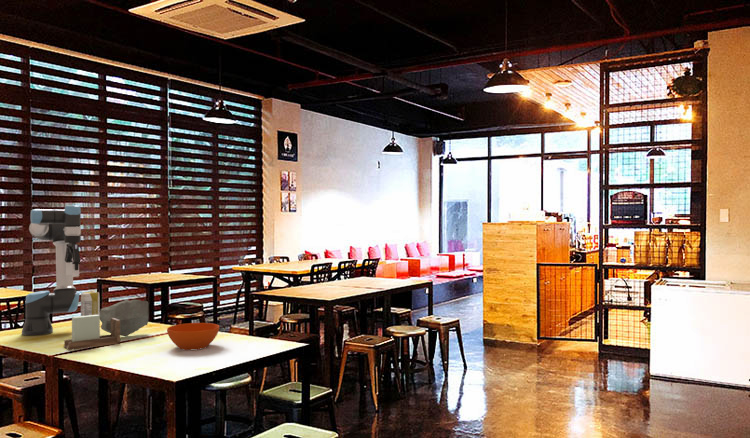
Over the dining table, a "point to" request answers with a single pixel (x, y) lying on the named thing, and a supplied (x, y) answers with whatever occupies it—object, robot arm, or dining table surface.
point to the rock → (125, 316)
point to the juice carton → (90, 303)
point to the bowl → (193, 335)
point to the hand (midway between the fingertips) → (72, 275)
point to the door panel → (85, 327)
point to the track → (102, 341)
